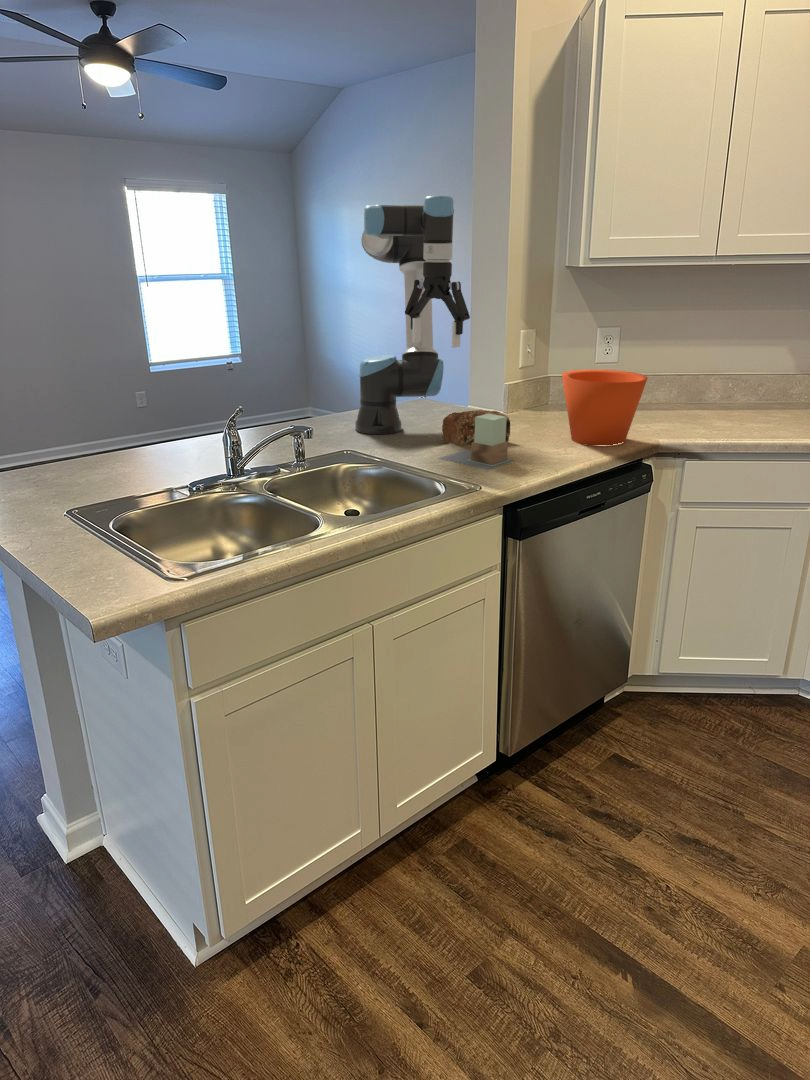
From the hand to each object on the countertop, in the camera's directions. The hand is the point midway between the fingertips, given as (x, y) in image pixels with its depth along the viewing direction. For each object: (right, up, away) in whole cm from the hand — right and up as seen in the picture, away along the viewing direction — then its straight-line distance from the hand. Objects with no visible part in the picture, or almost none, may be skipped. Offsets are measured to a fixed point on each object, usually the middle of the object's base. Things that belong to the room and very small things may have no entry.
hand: (435, 344), depth 202 cm
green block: (+15, -26, 0) cm, 30 cm away
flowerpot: (+52, -22, +29) cm, 63 cm away
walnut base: (+15, -31, +2) cm, 34 cm away
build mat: (+11, -32, +3) cm, 34 cm away
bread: (+13, -24, +25) cm, 37 cm away
